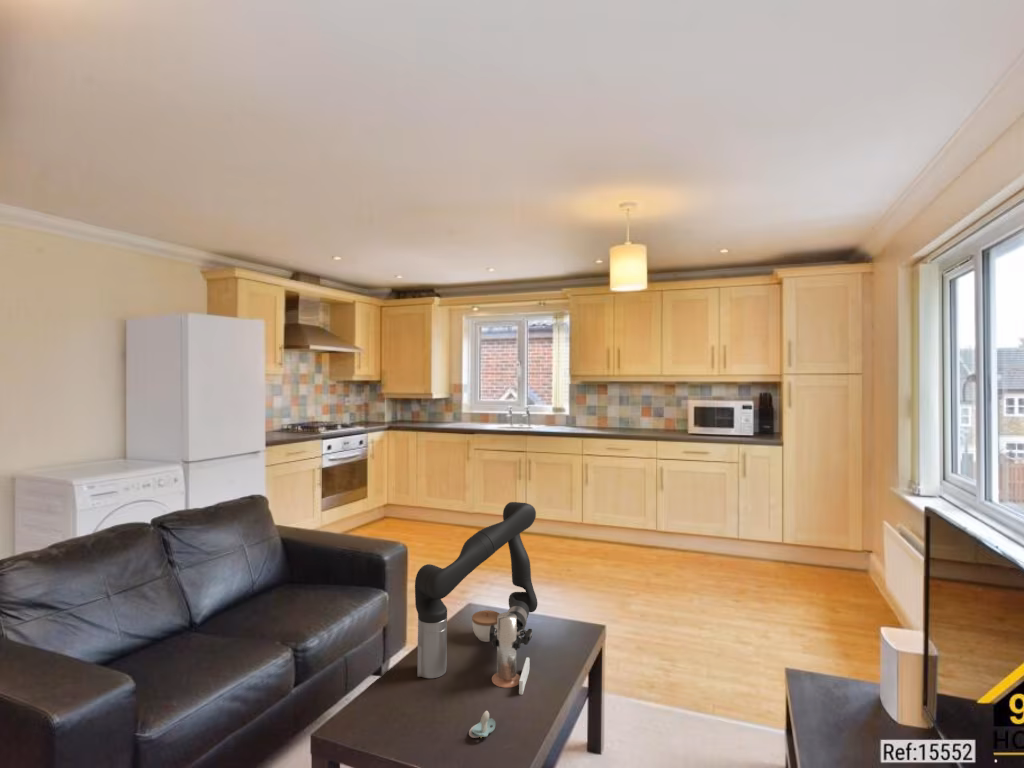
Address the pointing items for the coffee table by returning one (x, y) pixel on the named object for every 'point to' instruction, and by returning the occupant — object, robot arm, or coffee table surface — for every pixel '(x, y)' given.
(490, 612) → the lidded jar
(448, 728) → the coffee table surface
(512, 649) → the metal tin
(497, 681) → the terracotta coaster
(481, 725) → the pacifier
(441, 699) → the coffee table surface
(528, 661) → the acrylic wall
